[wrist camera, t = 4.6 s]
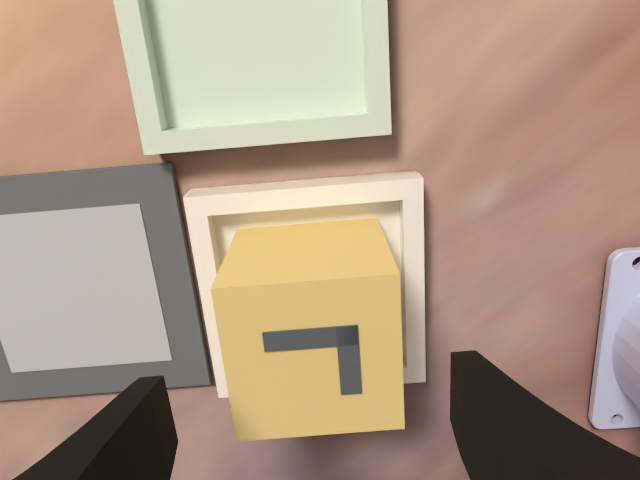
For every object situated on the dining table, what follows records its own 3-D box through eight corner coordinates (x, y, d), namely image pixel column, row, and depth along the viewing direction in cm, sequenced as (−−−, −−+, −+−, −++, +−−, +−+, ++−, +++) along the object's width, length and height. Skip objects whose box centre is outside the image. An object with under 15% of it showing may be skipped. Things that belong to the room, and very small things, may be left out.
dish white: (416, 170, 18) (423, 177, 17) (419, 364, 20) (425, 381, 19) (191, 189, 18) (182, 197, 17) (223, 379, 20) (218, 397, 19)
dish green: (376, -151, 14) (381, -169, 13) (386, 129, 17) (391, 134, 16) (102, -126, 15) (85, -141, 13) (154, 149, 17) (144, 155, 16)
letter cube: (377, 217, 18) (400, 274, 13) (382, 340, 20) (405, 430, 15) (237, 229, 18) (210, 289, 13) (254, 350, 20) (236, 443, 15)
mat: (172, 162, 17) (169, 164, 17) (211, 380, 20) (210, 385, 20) (-83, 183, 18) (-90, 185, 17) (-6, 397, 21) (-12, 402, 20)
